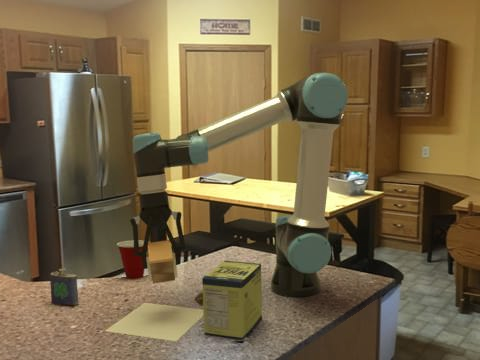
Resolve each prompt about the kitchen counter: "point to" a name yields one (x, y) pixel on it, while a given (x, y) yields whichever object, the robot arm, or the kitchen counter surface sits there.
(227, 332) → the protein box
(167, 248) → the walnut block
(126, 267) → the plastic cup
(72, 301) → the flask
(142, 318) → the cream board
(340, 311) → the kitchen counter surface
